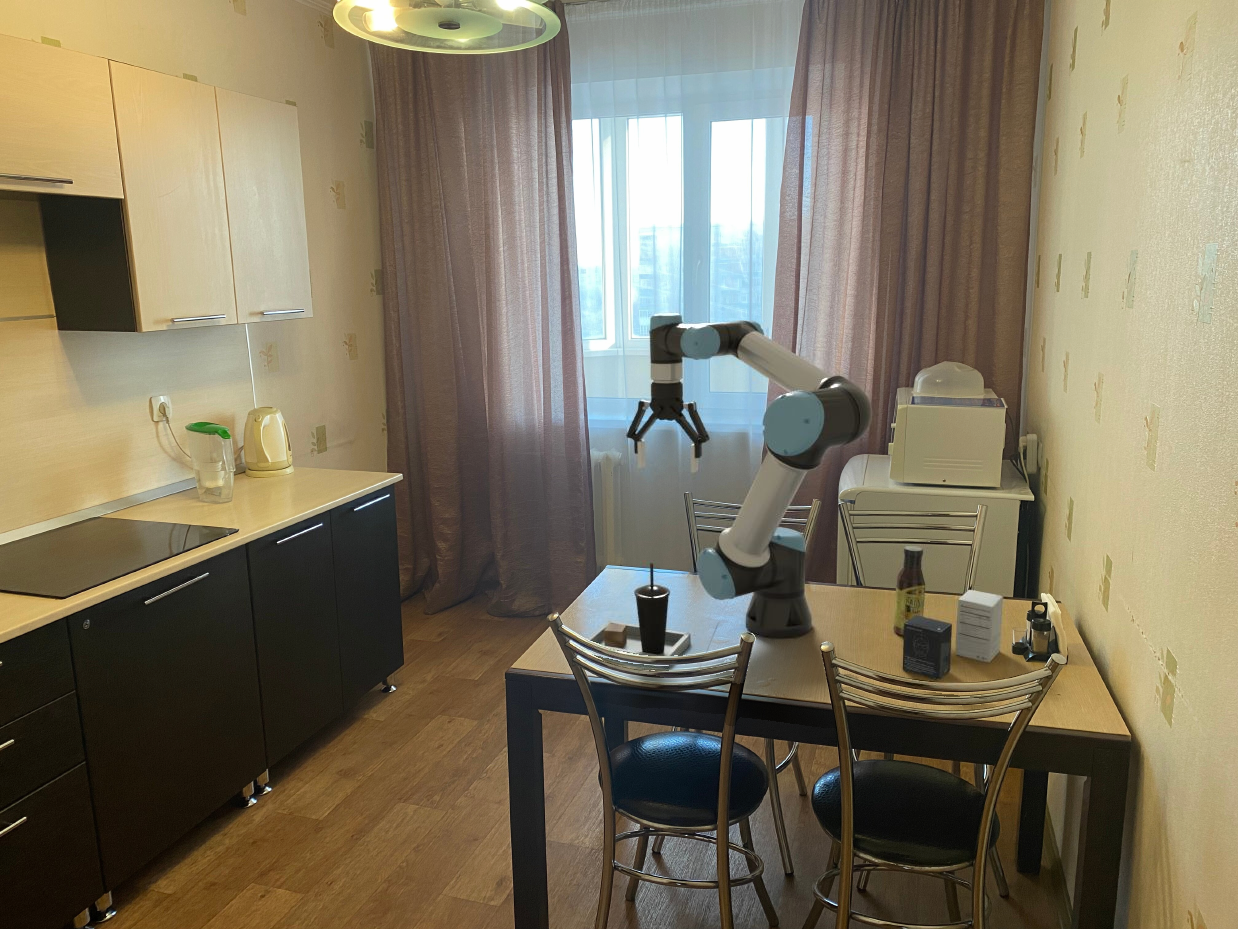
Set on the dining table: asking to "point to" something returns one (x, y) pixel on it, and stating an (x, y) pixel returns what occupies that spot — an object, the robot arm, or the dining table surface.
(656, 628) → the drinking cup
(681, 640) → the tray
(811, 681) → the dining table surface
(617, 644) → the walnut block
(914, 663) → the box
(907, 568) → the sauce bottle
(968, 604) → the supplement box
